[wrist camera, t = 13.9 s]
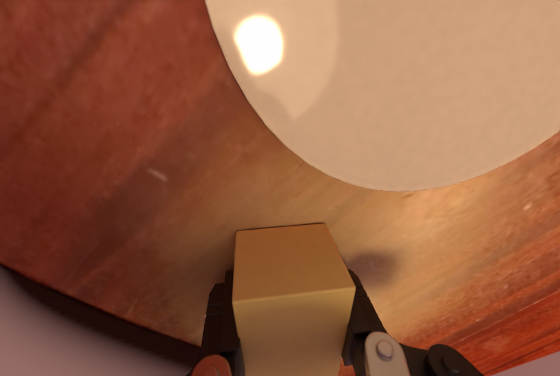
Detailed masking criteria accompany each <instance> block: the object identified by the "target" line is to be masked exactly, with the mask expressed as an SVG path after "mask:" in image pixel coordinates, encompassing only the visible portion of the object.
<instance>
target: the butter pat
mask: <svg viewBox="0 0 560 376" xmlns="http://www.w3.org/2000/svg"><path fill="white" fill-rule="evenodd" d="M355 290H356V287H355V285H354V283H353V280H352V278H351V276H350V274H349V272H348V270H347V268H346V266H345V264H344V262H343V259H342V257H341V255H340V253H339V251H338V249H337V247H336V245H335V243H334V241H333V238H332V236H331V234H330V232H329V230H328V228H327V226H326V224H325V223H322V224H310V225H299V226H288V227H277V228H266V229H254V230H243V231H237V232H236V241H235V259H234V276H233V293H232V305H233V311H234V317H235V322H236V328H237V334H238V337H239V338H240V343H241V349H242V355H243V361H244V366H245V376H338V372H339V367H340V362H341V357H342V351H343V346H344V341H345V337H346V332H347V327H348V323H349V319H350V314H351V309H352V305H353V300H354V295H355Z"/></svg>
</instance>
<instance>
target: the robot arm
mask: <svg viewBox="0 0 560 376" xmlns="http://www.w3.org/2000/svg"><path fill="white" fill-rule="evenodd" d="M347 270H348V272H349V274H350V276H351V278H352V280H353V283H354V285H355V287H356V290H355V295H354V300H353V305H352V309H351V314H350V319H349V323H348V327H347V332H346V337H345V341H344V346H343V351H342V358H343V361H344V365H345V366H349V365H353V368H354V371H355V374H356V376H484V375H483V374H482V373H480V372H479V371H478V370H477V369H476V368H475V367H474V366H473V365H472V364H471V363H470V362H469V361H468V360H467V359H466V358H465V357H464V356H462V355H461V354H460V353H459V352H458V351H456V350H455V349H453V348H451V347H449V346H447V345H443V344H436V345H433V346H431V347H430V349H429V351H428V350H423V349H418V348H414V347H409V346H405V345H403V344H401V343H399V342H397V340H396V339H394V338H393V337H392V336H390V335H389V334H388V333H387V332H386V330H385V328H384V327H383V325H382V323H381V321H380V319H379V317H378V315H377V313H376V311H375V309H374V307H373V305H372V303H371V301H370V299H369V297H367V293H366V291H365V290H364V289H363V286H362V284H361V282H360V280H359V278H358V276H357V275H355V274H354V273H353V272H352V271H351V270H350V269H347ZM233 276H234V270H229V271H226V276H225V283H218V284H215V285H214V287H213V288H212V290H211V292H210V294H209V299H208V307H207V312H206V318H205V325H204V331H203V338H202V344H201V351H200V356H199V359H198V361H197V363H196V365H195V366H194V368H193V369H192V370H191V372H190V373H189V374H188V375H187V376H245V366H244V361H243V355H242V349H241V343H240V338H239V337H238V334H237V328H236V322H235V317H234V311H233V305H232V293H233Z"/></svg>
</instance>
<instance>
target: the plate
mask: <svg viewBox="0 0 560 376" xmlns="http://www.w3.org/2000/svg"><path fill="white" fill-rule="evenodd" d="M205 4H206V7H207V10H208V14H209V17H210V20H211V24H212V27H213V30H214V32H215V35H216V37H217V40H218V42H219V44H220V47H221V49H222V52H223V54H224V57H225V59H226V61H227V64H228V66H229V68H230V70H231V72H232V74H233V76H234V77H235V79H236V81H237V83H238V85H239V86H240V88H241V90H242V92H243V93H244V95H245V97H246V99H247V100H248V102H249V103H250V105H251V106H252V107H253V109H254V110H255V111H256V113H257V114H258V116H259V117H260V118H261V120H262V121H263V122H264V124H265V125H266V126H267V127H268V128H269V130H270V131H271V132H272V133H273V134H274V135H275V136H276V137H277V138H278V139H279V140H280V141H281V142H282V143H283V144H284V145H285V146H286V147H287V148H288V149H289V150H291V151H292V152H293V153H294V154H296V155H297V156H298V157H300V158H301V159H302V160H303V161H305V162H306V163H307V164H309V165H311V166H312V167H314V168H316V169H318V170H319V171H321V172H323V173H324V174H326V175H328V176H331V177H333V178H335V179H338V180H340V181H343V182H345V183H348V184H351V185H355V186H359V187H363V188H367V189H372V190H381V191H390V192H409V191H422V190H429V189H436V188H441V187H445V186H449V185H453V184H457V183H461V182H464V181H467V180H469V179H472V178H475V177H478V176H481V175H483V174H486V173H488V172H490V171H492V170H494V169H497V168H499V167H501V166H503V165H505V164H507V163H509V162H511V161H513V160H515V159H516V158H518V157H520V156H522V155H523V154H525V153H527V152H529V151H530V150H532V149H534V148H535V147H537V146H538V145H540V144H541V143H543V142H544V141H546V140H547V139H549V138H550V137H552V136H553V135H555V134H556V133H557V132H559V131H560V0H205Z"/></svg>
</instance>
